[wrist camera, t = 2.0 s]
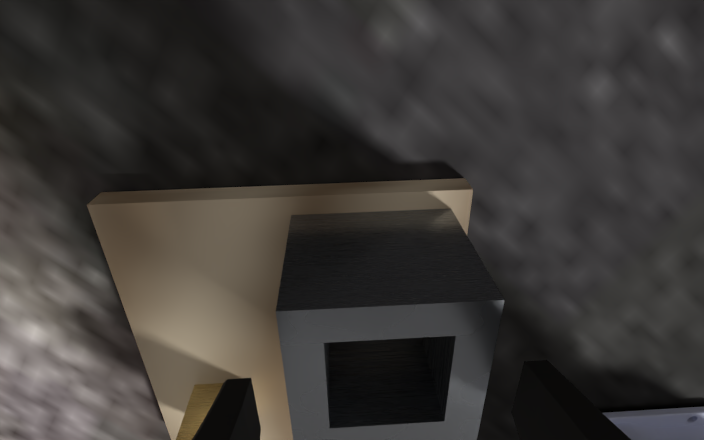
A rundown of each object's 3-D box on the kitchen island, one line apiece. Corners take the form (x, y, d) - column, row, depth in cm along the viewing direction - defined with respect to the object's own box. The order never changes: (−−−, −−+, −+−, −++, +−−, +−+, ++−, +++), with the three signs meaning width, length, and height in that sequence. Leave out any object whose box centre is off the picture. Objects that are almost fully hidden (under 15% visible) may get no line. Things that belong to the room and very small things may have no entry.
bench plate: (464, 178, 15) (473, 189, 14) (436, 412, 21) (441, 430, 20) (101, 192, 15) (86, 204, 14) (180, 427, 21) (173, 447, 20)
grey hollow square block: (450, 208, 15) (504, 299, 10) (438, 328, 17) (476, 442, 13) (291, 215, 14) (275, 311, 10) (303, 335, 17) (295, 453, 13)
